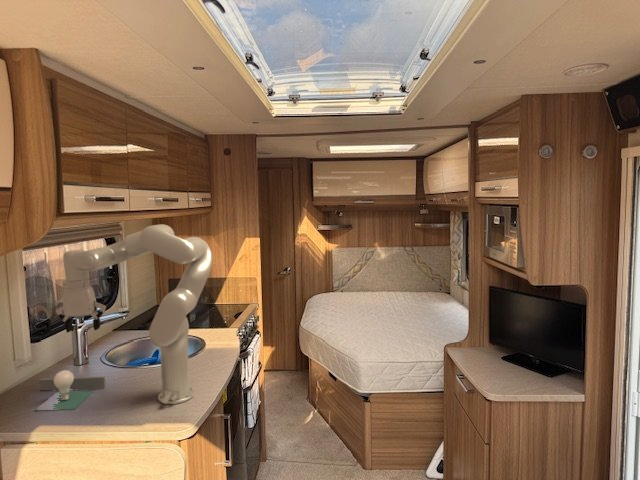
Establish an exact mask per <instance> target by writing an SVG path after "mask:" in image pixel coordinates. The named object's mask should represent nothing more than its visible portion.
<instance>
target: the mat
mask: <svg viewBox="0 0 640 480" xmlns="http://www.w3.org/2000/svg"><path fill="white" fill-rule="evenodd" d="M93 393H94V390H85V391H84V390H77V391H69V397H70V398H69V399H68V400H66V401H64V400H61V395H59V397H60V398H57V399H59V400H58V401H60V402H58V404H53V405H55V406H53V407H55V408H53V409H54V410H55V409H58V410H57V411H73V410H76V409H77V408H78V407H79V406H80V405H82V404H83V402H85V401H86V399H88V398H89V397H90V396H91V395H92V394H93ZM59 394H61V393H59ZM59 409H60V410H59ZM33 410H38V409H35V408H34V409H33Z"/></svg>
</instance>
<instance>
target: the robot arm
mask: <svg viewBox="0 0 640 480" xmlns="http://www.w3.org/2000/svg"><path fill="white" fill-rule="evenodd" d="M151 253H154V254H155V255H157V256H159V257H162V258H163V259H166V260H169V261H171V262H174V263H176V264H179V265H187V266H186V268H185V270H184V271H183V274H182V275H181V277H180V280H179V282H178V283H177V286H176V288H174V289H173V290H172V291H170V292H169V293H167V294H166V295H165V296H164V297H163V299H162V300H161V302H160V304H159V306H158V309H157V311H156V312H155V315H154V317H153V319H152V321H151V324H150V326H149V329H148V337H149V340H150V341H151V343H152V344H153V345H154V346H156V347H159V348H160V351H159V353H160V369H161V386H162V387H161V389H162V391H161V392H160V393H159V394H158V396H157V398H158V399H157V400H158V402H160V403H162V404H165V405H176V404H182V403H184V402H187V401H189V400H190V399H192V398H193V397H194V395H195V389H194V388H192V387H190V385H191V384H190V373H189V372H190V370H189V369H190V368H189V328H190V324H189V320H188V317H187V315H188V314H189V313H191V312H192V311H193V310H194V309H195V307H196V306H197V304H198V301H199V298H200V296H201V294H202V292H203V290H204V287H205V285H206V283H207V281H208V278H209V276H210V273H211V272H212V271H211V270H212V266H213V261H214V260H213V259H214V257H213V253H212V250H211V248H210V246H209V245H208V243H207V242H206V241H205V240H204V239H202V237H201V238H200V237H198V236H189V237H185V238H181V237H179V236H176V235H175V232H174V229H173V228H172V227H171V226H169V225H167V224H162V223H161V224H155V225H149V226H147V227H145V228H143V229H142V230H140V231H136V232H134V233H131V234H128V235H126V236H124V239H123V240H121V241H117V242H115V243H112V244H108V245H107V246H106V245H105V246H103V247H97V248H92V249H89V250H83V249H76V250H68V251H65V252H64V253H63V255H62V257H63V258H62V259H63V267H64V277H65V281H63V282H62V286H63V287H65V289H64V290H63V301H62V304H63V305H62V306H60V307H59V308H57V309H55V312H56V314H57V315H58V317H59V318H60V320H62V322H64V329H65V330H66V333H70V332H71V331H73V320H72V319H71V318H72V317H75V318H77V317H85V316H91V317H92V318H93V320H92V321H93V322H92V323H93V330H94V331H97V330H99V329H100V328H101V317H102V316H103V314H104V313H105V311H106V308H107V306H106V305H104V304H103V303H99V302H97V299H96V293H95V290H94V288H93V286H91V280H90V272H94V271H98V270H101V269H104V268H108V267H111V266H114V265H117V264H120V263H123V262H126V261H128V260H131V259H133V260H135V259H136V258H140V257H143V256H145V255H147V254H151ZM98 309H99V312H98Z"/></svg>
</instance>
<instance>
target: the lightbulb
mask: <svg viewBox="0 0 640 480" xmlns="http://www.w3.org/2000/svg"><path fill="white" fill-rule="evenodd" d="M74 377H75V376H74V374H73V372H72V371H71V370H66V369H65V370H60V371H58V372H57V373H56V374H55V375H54V377H53V378H54V385H55V386H56V387H57V388H58V389H59V391H58V392H60V393H61V400H64V401H66V400H68V399H69V398H70V397H69V392H71V390H70V387H71V385H72V383H73V381H74Z"/></svg>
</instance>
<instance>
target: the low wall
mask: <svg viewBox="0 0 640 480" xmlns="http://www.w3.org/2000/svg"><path fill="white" fill-rule="evenodd" d="M38 383H39V391H40V390H59V389H58V388H57V387H56V386H55V385H54V377H53V378H52V377H51V378H49V377H48V378H40V379H39V382H38ZM106 384H107V383H106V376H80V377H79V376H74V381H73V383H72V385H71V387H70V389H74V390H73V391H76V390H75V389H82V390H81V391H84V390H83V389H86V390H85V391H88V390H105V389H106V387H107V386H106Z"/></svg>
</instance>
